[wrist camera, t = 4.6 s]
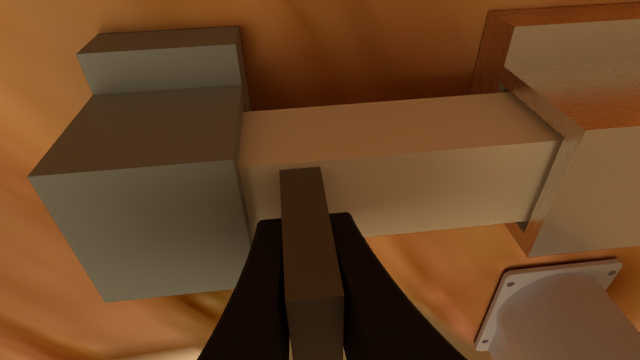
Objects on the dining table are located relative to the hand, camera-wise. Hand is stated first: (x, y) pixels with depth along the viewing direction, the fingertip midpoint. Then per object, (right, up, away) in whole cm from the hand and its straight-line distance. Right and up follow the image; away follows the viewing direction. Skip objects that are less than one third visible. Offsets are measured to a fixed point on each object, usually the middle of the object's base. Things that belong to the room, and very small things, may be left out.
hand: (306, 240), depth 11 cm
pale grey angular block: (+1, +3, +4) cm, 5 cm away
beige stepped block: (+11, +5, +7) cm, 14 cm away
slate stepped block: (-5, +4, +5) cm, 8 cm away
